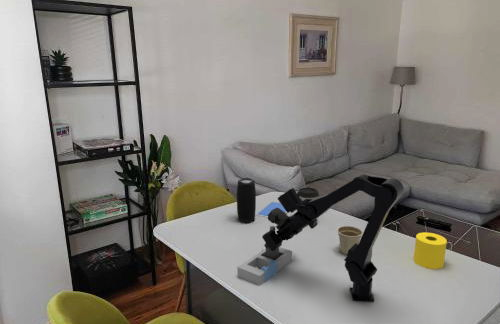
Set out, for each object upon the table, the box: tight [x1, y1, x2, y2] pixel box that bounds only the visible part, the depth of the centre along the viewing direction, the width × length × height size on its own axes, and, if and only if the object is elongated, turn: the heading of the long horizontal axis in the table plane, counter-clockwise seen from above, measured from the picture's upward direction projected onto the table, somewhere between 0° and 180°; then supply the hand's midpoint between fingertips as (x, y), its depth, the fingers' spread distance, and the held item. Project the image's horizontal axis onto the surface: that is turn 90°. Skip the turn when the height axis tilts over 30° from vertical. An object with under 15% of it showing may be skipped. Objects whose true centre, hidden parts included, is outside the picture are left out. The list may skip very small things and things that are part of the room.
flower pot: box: [336, 225, 364, 255], centre depth 145 cm, size 9×9×9 cm
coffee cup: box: [296, 187, 320, 201], centre depth 173 cm, size 10×10×15 cm
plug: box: [266, 225, 279, 260], centre depth 136 cm, size 5×5×14 cm
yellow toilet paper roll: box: [413, 231, 448, 270], centre depth 137 cm, size 10×10×9 cm
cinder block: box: [236, 246, 293, 286], centre depth 134 cm, size 10×21×4 cm, turn 144°
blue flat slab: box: [255, 201, 288, 219], centre depth 187 cm, size 19×13×1 cm, turn 153°
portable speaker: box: [236, 177, 257, 224], centre depth 174 cm, size 9×9×20 cm
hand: (269, 243), depth 137 cm, fingers closed on plug, 5 cm apart
